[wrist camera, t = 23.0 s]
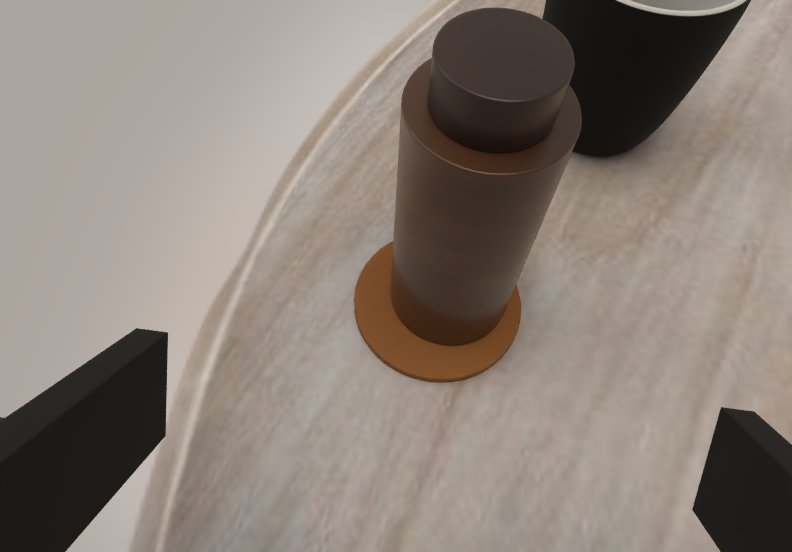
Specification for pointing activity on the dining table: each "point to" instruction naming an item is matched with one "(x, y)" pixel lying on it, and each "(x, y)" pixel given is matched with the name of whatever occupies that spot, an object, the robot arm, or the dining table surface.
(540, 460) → the dining table surface
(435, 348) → the coaster
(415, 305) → the pepper mill
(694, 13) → the mug
